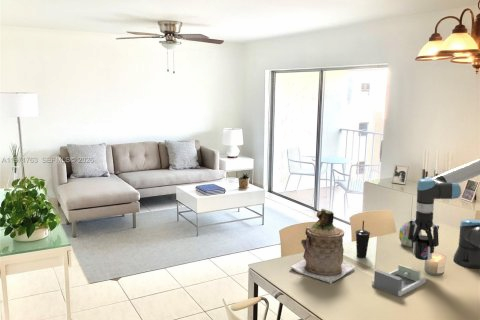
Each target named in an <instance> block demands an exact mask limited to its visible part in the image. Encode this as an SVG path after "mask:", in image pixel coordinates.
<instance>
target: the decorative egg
mask: <svg viewBox="0 0 480 320" xmlns="http://www.w3.org/2000/svg"><path fill="white" fill-rule="evenodd" d="M411 220H412V219H409V220H406V221H405V222H403V224H402V225H401V227H400V229H399V232H398V237H399V241H400V243H401V244H402V245H403V246H404V247H407V248H412V241H411V240H409V239H408V235H409V229H410V222H409V221H411ZM416 228H417V225H416V223H415V228H414V233H415V231H416ZM419 235H423V233H422V230H421V231H420V233H419ZM413 236H414V234H413Z"/></svg>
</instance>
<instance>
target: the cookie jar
mask: <svg viewBox="0 0 480 320" xmlns="http://www.w3.org/2000/svg"><path fill="white" fill-rule="evenodd" d="M334 215H335V214H334V212H333V211H330V210H327V209H325V208H321V210H318V211H317V212H316V217H317V218H318V220H317V221H316V223H314V224H312V225H311V226H307V227H306V228H305V235H306V238H305V239H301V240H300V241H301V242H300V243H301V246H302V247H303V249H304V253H303V259H302V260H300V261H298V262H297V263H295V264H291V265H290V266H289V268H290V269H292V270H294V271H295V272H297V273H299V274H302V275H305V276H307V277H310V278H314V279H316V280H321V281H323V282H325V283H329V284H330V285H332V284H333V282H335V281H337V280H339V279H341V278H342V277H344V276H345V275H347V274H349V273H351V272H353V271H355V268H356V266H355V265H352V264H349V263H343V262H344V252H345V251H344V246H343V244H344V241H343V239H344V238H343V237H344V236H345V231H344V230H343V229H341V228H339V227H337V226H334Z"/></svg>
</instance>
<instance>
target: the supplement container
mask: <svg viewBox="0 0 480 320" xmlns="http://www.w3.org/2000/svg"><path fill="white" fill-rule="evenodd" d="M428 246H430V244H429V241H428V237H427V235H423V234H422V235H418V236H416V243H415V255H414V258H416V259H417V260H420V261H428V260H427V259H428Z"/></svg>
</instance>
